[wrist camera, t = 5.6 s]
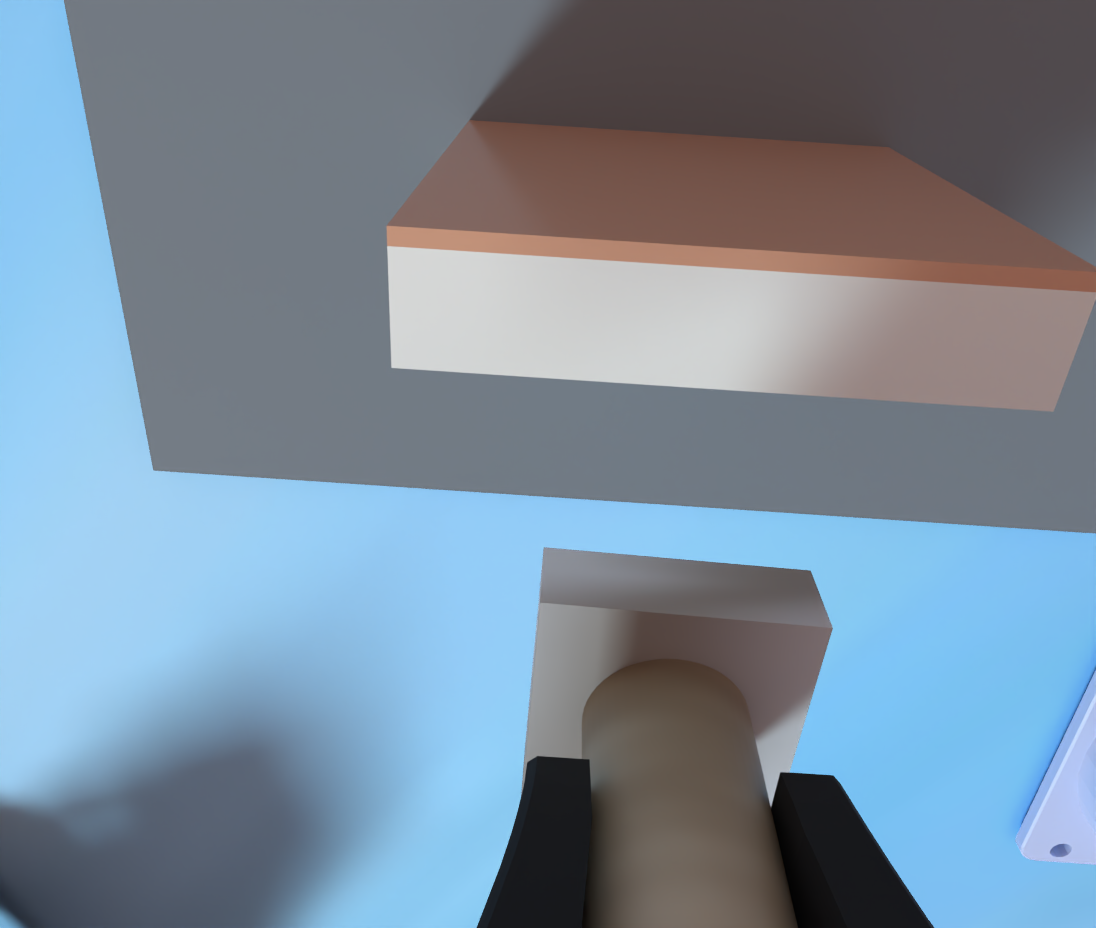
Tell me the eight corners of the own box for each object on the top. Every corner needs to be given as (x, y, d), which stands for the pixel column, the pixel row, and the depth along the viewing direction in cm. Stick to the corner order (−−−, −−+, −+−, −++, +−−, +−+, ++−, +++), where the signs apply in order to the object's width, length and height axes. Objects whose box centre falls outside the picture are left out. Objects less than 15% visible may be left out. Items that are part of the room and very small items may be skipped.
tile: (888, 147, 15) (1105, 272, 9) (867, 237, 15) (1053, 411, 9) (469, 120, 15) (386, 225, 9) (468, 210, 15) (392, 367, 9)
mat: (1590, -579, 11) (1625, -599, 10) (1106, 524, 18) (1116, 534, 18) (-49, -678, 11) (-70, -701, 10) (161, 461, 19) (153, 470, 18)
